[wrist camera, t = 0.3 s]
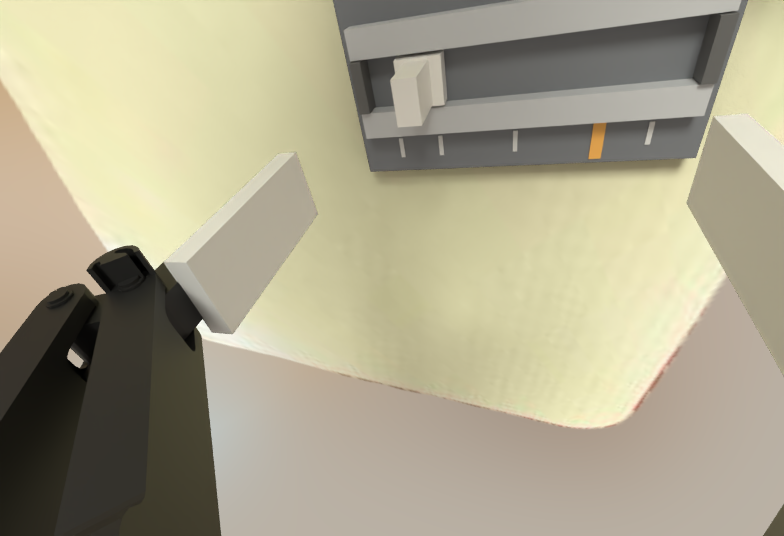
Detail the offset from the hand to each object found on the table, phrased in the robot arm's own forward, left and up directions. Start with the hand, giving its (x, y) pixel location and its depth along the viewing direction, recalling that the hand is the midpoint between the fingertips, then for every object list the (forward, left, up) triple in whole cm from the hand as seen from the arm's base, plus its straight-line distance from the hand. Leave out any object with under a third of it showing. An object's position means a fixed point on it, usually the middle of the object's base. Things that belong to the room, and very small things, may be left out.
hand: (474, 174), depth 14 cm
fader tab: (+3, -7, -25) cm, 26 cm away
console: (+3, +1, -27) cm, 27 cm away
